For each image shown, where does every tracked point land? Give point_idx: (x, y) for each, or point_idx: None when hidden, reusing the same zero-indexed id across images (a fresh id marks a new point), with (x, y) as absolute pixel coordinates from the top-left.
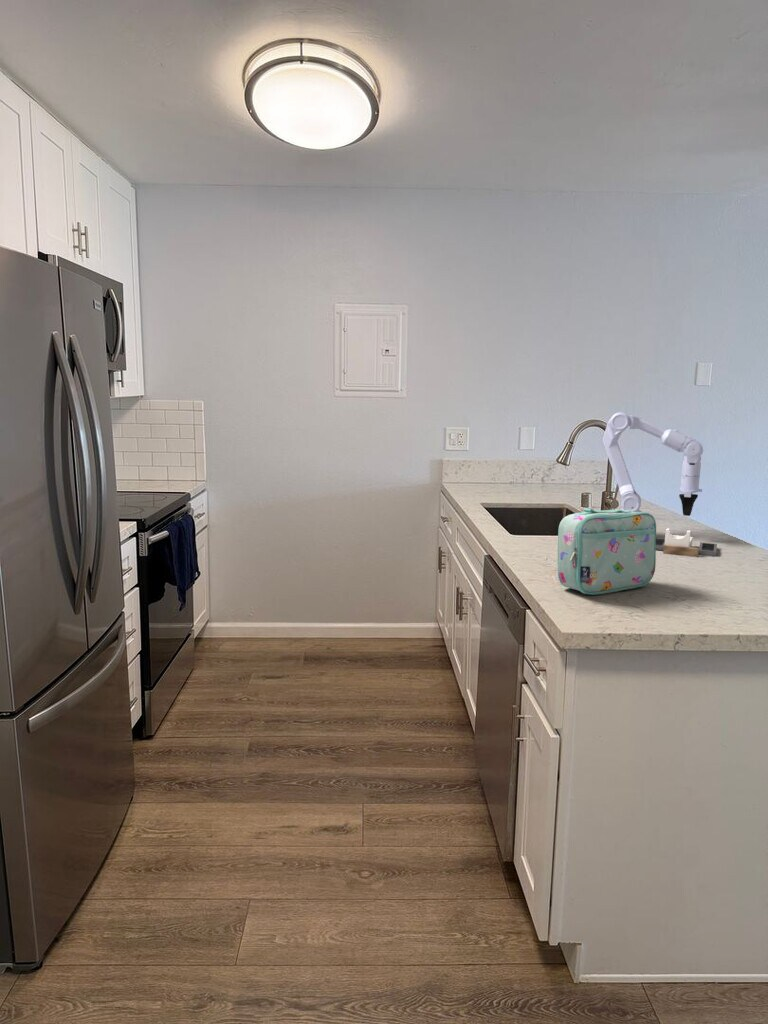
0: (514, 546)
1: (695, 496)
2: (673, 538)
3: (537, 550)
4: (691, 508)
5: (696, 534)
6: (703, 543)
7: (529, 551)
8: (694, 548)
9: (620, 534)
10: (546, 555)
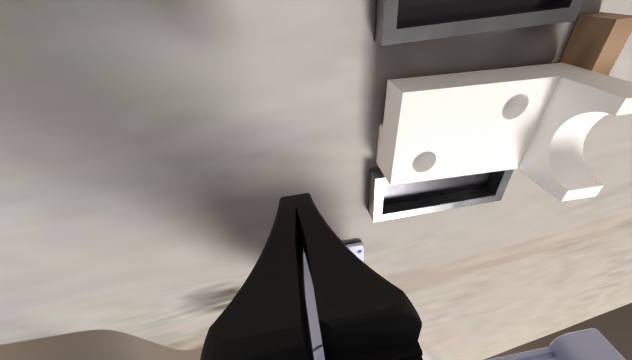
0: (511, 338)
1: (362, 333)
2: (579, 146)
3: (538, 314)
4: (328, 229)
5: (47, 116)
6: (395, 25)
7: (547, 317)
8: (622, 37)
9: None
10: (578, 295)
